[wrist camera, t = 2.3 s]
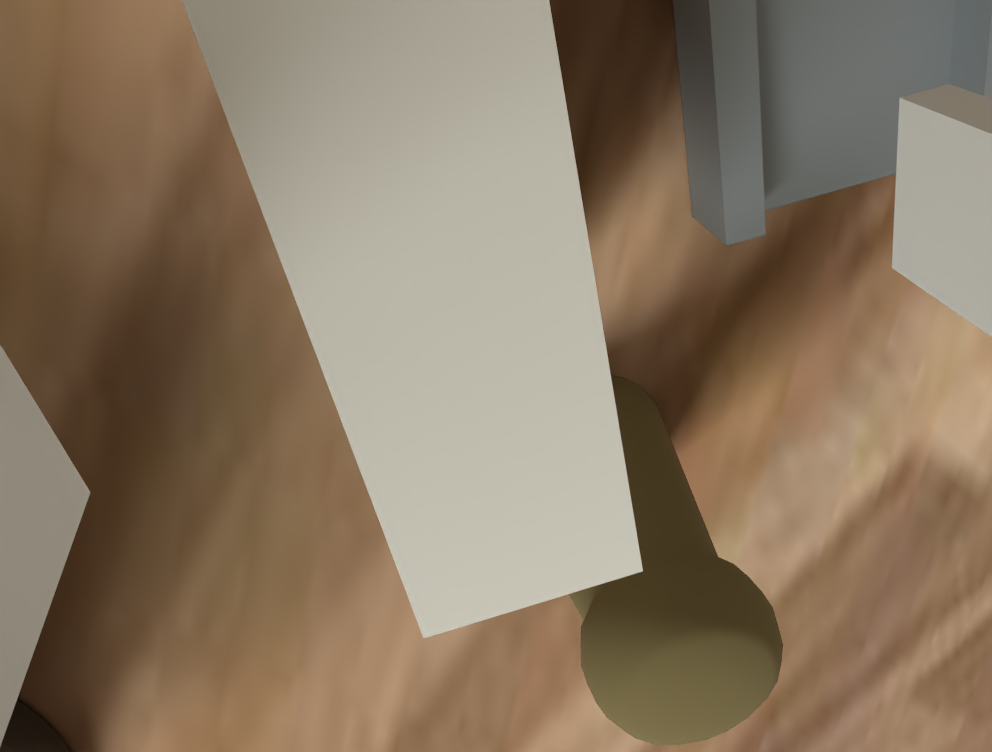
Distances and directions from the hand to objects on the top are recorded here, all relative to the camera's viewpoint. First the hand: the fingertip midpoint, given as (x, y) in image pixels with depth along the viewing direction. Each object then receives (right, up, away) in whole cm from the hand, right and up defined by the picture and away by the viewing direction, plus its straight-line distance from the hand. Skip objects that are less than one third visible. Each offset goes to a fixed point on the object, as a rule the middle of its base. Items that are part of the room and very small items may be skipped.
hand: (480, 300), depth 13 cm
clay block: (-3, +6, +11) cm, 13 cm away
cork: (+3, -4, +18) cm, 19 cm away
